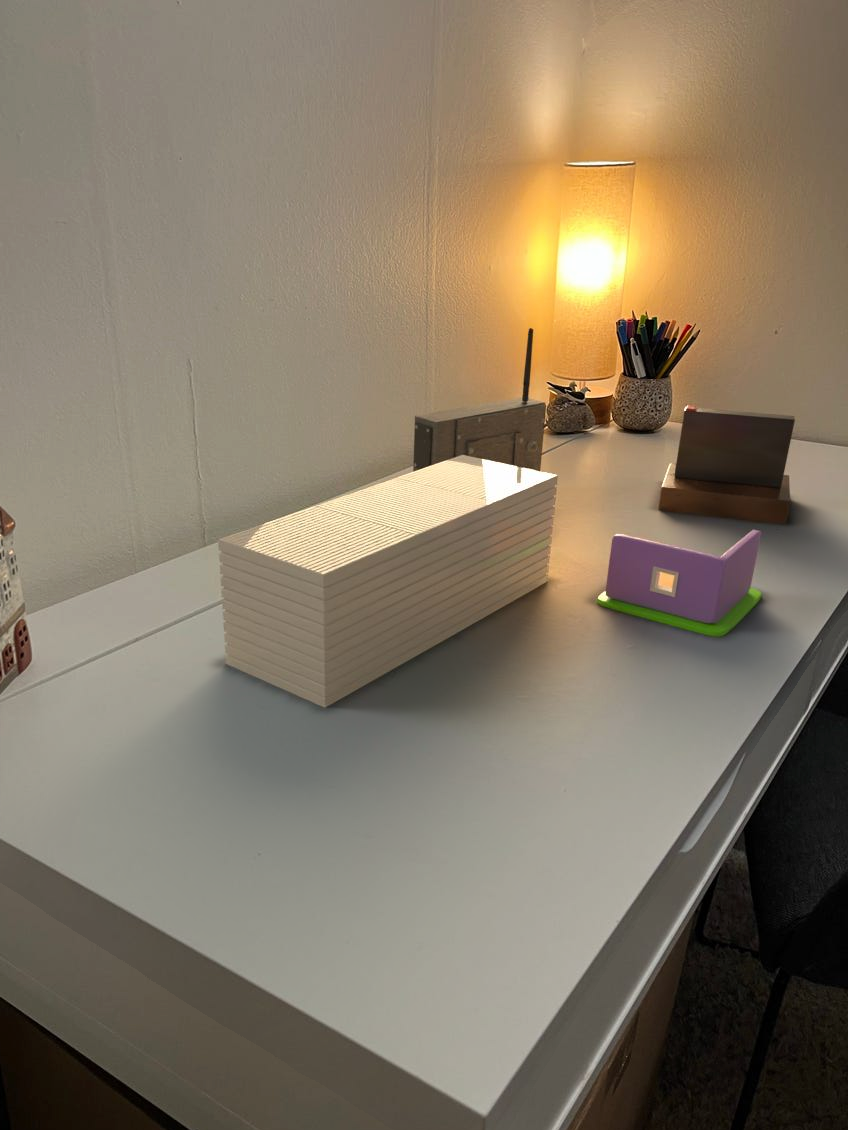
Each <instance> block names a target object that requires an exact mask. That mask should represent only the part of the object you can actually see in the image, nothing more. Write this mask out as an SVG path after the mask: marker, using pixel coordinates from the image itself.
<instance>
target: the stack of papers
mask: <svg viewBox="0 0 848 1130" xmlns="http://www.w3.org/2000/svg"><path fill="white" fill-rule="evenodd" d="M558 479H559V475H557V474H553V473H548V472H544V471H540V472H539V471H535V470H530V469H526V468H521V467H516V466H512V465H507V464H502V463H498V462H493V461H489V460H484V459H480V458H475V457H470V456H465V455H461V456H458V457H455V458H452V459H449V460H446V461H443V462H440V463H438V464H435V465H432V466H429V467H426V468H423V469H420V470H417V471H415V472H413V471H412V472H409V473H405V474H403V475H400V476H397V477H394V478H392V479H389V480H385V481H383V482H380V483H377V484H374V485H372V486H368V487H366V488H362V489H360V490H356V491H355V492H352V493H351V492H350V493H349V494H345V495H342V496H340V497H336V498H334V499H330V500H329V501H325V502H323V503H320V504H317V505H313V506H311V507H309V508H305V509H303V510H299V511H297V512H294V513H291V514H288V515H285V516H282V517H279V518H277V519H273V520H271V521H268V522H265V523H262V524H260V525H256V526H252V527H251V528H248V529H245V530H242V531H239V532H236V533H233V534H230V535H228V536H225V537H221V538H219V539H217V540H218V541H217V542H218V543H217V544H218V550H219V551H220V552H219V554H218V557H219V558H218V559H219V563H221V564H220V565H219V573H220V575H222V576H220V586H221V587H222V588H221V598H223V599H222V600H221V606H222V609H223V611H222V620H223V621H225V622H223V632H225V633H224V634H223V637H224V643H226V644H225V645H224V653H225V654H226V655H225V664H226V665H228V666H229V667H232V668H234V669H236V670H239V671H241V672H244V673H246V674H248V675H250V676H253V677H254V678H257V679H260V680H261V681H263V682H266V683H268V684H270V685H273V686H275V687H277V688H280V689H282V690H284V691H286V692H289V693H291V694H293V695H294V696H297V697H300V698H302V699H304V700H306V701H308V702H311V703H313V704H316V705H318V706H320V707H323V708H328V707H329V706H331V705H333V704H334V703H336V702H338V701H340V700H341V699H343V698H345V697H346V696H348V695H351V694H352V693H353V692H355V691H357V690H359V689H361V688H363V687H364V686H366V685H368V684H369V683H372V682H373V681H375V680H376V679H378V678H380V677H382V676H384V675H385V674H388V673H389V672H391V671H392V670H394V669H396V668H398V667H399V666H401V665H404V663H406V662H408V661H410V660H412V659H414V658H415V657H417V656H419V655H421V654H422V653H424V652H426V651H428V650H429V649H431V648H433V647H434V646H437V645H438V644H440V643H442V642H443V641H446V640H447V639H449V638H450V637H453V636H454V635H456V634H457V633H459V632H461V631H462V630H465V629H466V628H468V627H470V626H472V625H473V624H476V623H477V622H479V621H480V620H482V619H484V618H485V617H487V616H490V615H491V614H493V613H495V612H497V611H498V610H500V609H502V608H503V607H505V606H506V605H508V604H510V603H513V602H514V601H516V600H517V599H520V598H521V597H523V596H525V595H526V594H529V593H530V592H532V591H534V590H535V589H537V588H538V587H541V586H542V585H544V584H545V583H547V582H548V581H549V579H548V578H549V575H548V573H549V568H550V565H548V564H550V560H551V557H550V554H551V548H552V546H551V545H552V539H553V537H552V535H553V528H554V526H553V525H554V519H555V518H554V515H555V509H556V507H554V506H555V505H556V495H557V490H558V489H557V486H556V485H558Z"/></svg>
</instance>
